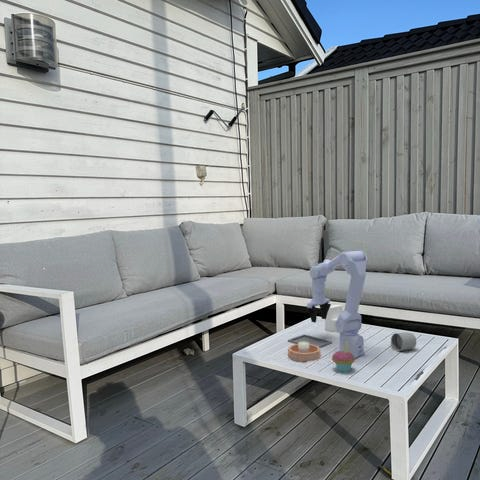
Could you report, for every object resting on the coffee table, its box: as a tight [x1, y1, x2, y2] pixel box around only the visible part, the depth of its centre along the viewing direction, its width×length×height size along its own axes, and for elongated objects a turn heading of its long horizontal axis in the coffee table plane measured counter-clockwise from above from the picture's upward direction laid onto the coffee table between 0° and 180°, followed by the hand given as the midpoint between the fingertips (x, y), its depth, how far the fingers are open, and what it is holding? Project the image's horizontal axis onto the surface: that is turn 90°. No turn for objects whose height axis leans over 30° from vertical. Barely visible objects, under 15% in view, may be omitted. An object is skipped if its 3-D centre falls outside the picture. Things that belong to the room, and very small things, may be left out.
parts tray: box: [287, 334, 333, 349], centre depth 205 cm, size 16×12×1 cm
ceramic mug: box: [390, 331, 417, 352], centre depth 195 cm, size 11×8×8 cm
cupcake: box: [331, 342, 356, 373], centre depth 172 cm, size 9×8×12 cm
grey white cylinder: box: [324, 304, 343, 333], centre depth 225 cm, size 9×9×12 cm
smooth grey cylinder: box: [298, 341, 309, 353], centre depth 188 cm, size 5×5×5 cm
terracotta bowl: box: [287, 343, 321, 363], centre depth 188 cm, size 13×13×4 cm
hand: (318, 320), depth 208 cm, fingers open, 7 cm apart
